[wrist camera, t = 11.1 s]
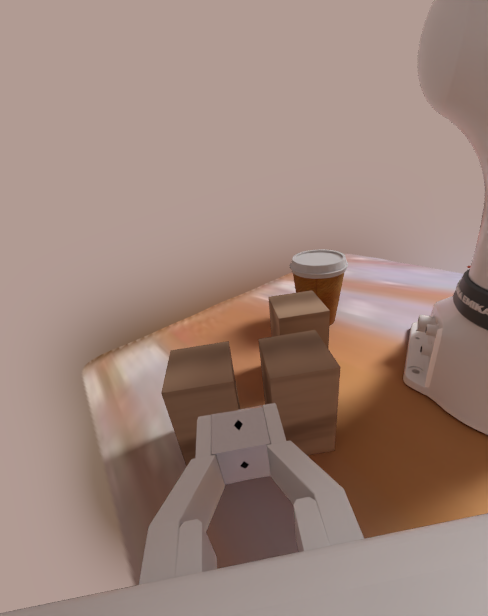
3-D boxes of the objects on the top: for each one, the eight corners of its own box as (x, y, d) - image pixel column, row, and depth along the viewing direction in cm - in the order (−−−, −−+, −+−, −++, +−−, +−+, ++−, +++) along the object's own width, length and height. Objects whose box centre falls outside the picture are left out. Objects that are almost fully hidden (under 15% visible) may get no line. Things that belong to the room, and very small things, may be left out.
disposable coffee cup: (309, 302, 57) (308, 246, 51) (353, 314, 51) (358, 252, 45) (281, 322, 51) (278, 261, 46) (327, 338, 45) (330, 270, 39)
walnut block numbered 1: (334, 450, 28) (340, 367, 23) (277, 461, 27) (270, 378, 22) (313, 404, 33) (314, 328, 28) (265, 412, 33) (258, 337, 28)
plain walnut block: (247, 462, 28) (233, 381, 23) (188, 473, 27) (161, 393, 22) (241, 415, 33) (228, 341, 28) (192, 423, 33) (170, 350, 28)
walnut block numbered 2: (326, 382, 36) (329, 310, 31) (283, 389, 36) (278, 318, 31) (311, 354, 42) (311, 289, 37) (273, 360, 41) (268, 296, 36)
